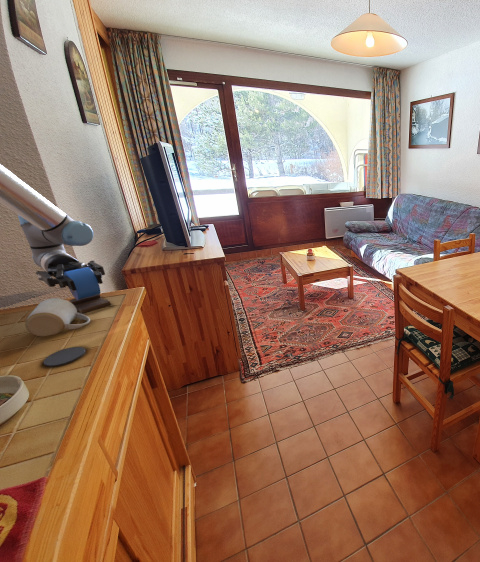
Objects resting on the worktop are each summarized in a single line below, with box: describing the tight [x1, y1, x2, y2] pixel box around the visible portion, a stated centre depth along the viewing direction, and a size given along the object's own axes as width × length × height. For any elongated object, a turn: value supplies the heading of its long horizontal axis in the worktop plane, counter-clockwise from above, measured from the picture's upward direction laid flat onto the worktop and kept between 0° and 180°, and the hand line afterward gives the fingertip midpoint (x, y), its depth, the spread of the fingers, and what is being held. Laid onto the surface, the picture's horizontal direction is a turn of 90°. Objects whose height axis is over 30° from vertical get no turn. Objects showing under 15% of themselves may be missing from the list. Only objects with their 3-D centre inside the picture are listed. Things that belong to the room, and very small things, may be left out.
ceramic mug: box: [25, 297, 91, 337], centre depth 79 cm, size 11×8×8 cm
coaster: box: [43, 346, 86, 368], centre depth 69 cm, size 7×7×1 cm
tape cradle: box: [68, 293, 112, 314], centre depth 91 cm, size 11×7×2 cm, turn 56°
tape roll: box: [64, 267, 101, 300], centre depth 88 cm, size 5×8×8 cm, turn 56°
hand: (86, 282), depth 85 cm, fingers closed on tape roll, 5 cm apart
